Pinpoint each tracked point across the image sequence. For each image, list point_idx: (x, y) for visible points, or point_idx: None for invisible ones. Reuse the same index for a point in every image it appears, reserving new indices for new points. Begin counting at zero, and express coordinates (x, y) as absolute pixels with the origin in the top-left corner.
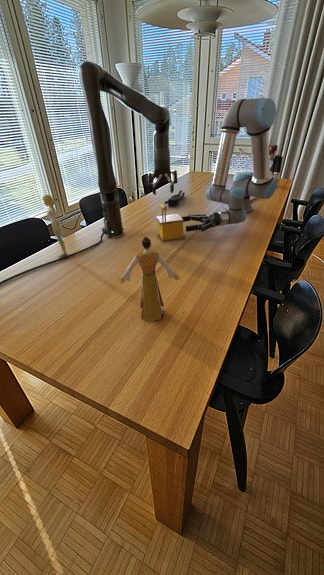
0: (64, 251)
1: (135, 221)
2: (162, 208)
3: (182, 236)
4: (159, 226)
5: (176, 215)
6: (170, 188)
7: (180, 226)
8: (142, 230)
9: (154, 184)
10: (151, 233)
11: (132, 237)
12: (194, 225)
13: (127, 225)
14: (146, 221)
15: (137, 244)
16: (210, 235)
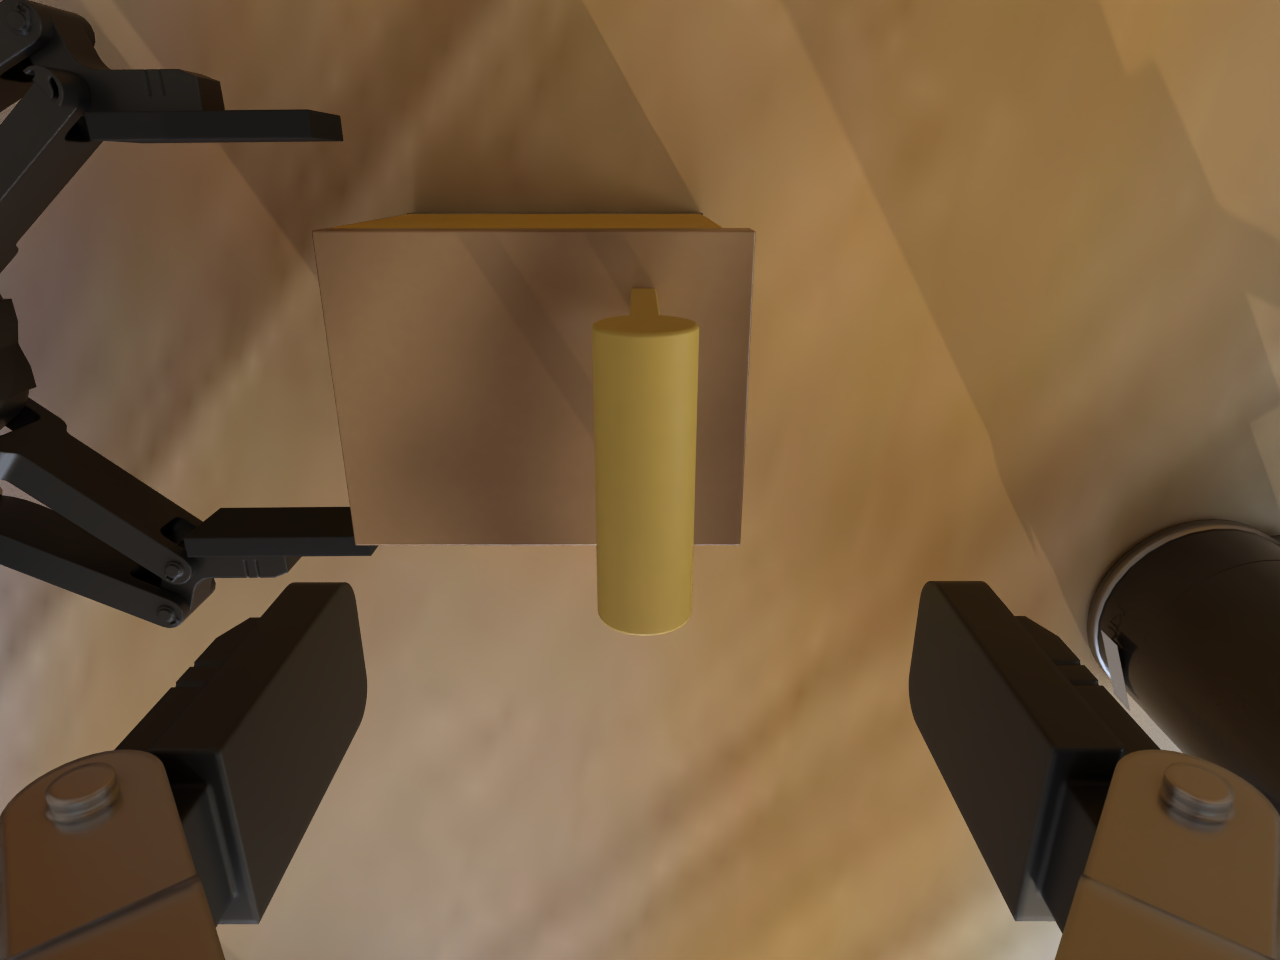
0: None
1: (848, 874)
2: (696, 383)
3: (414, 213)
4: None
5: (393, 476)
6: (314, 760)
7: (401, 223)
8: (846, 625)
9: (1213, 856)
10: (769, 508)
11: (1023, 472)
12: (155, 118)
13: None
14: (729, 839)
15: (1037, 245)
16: None
